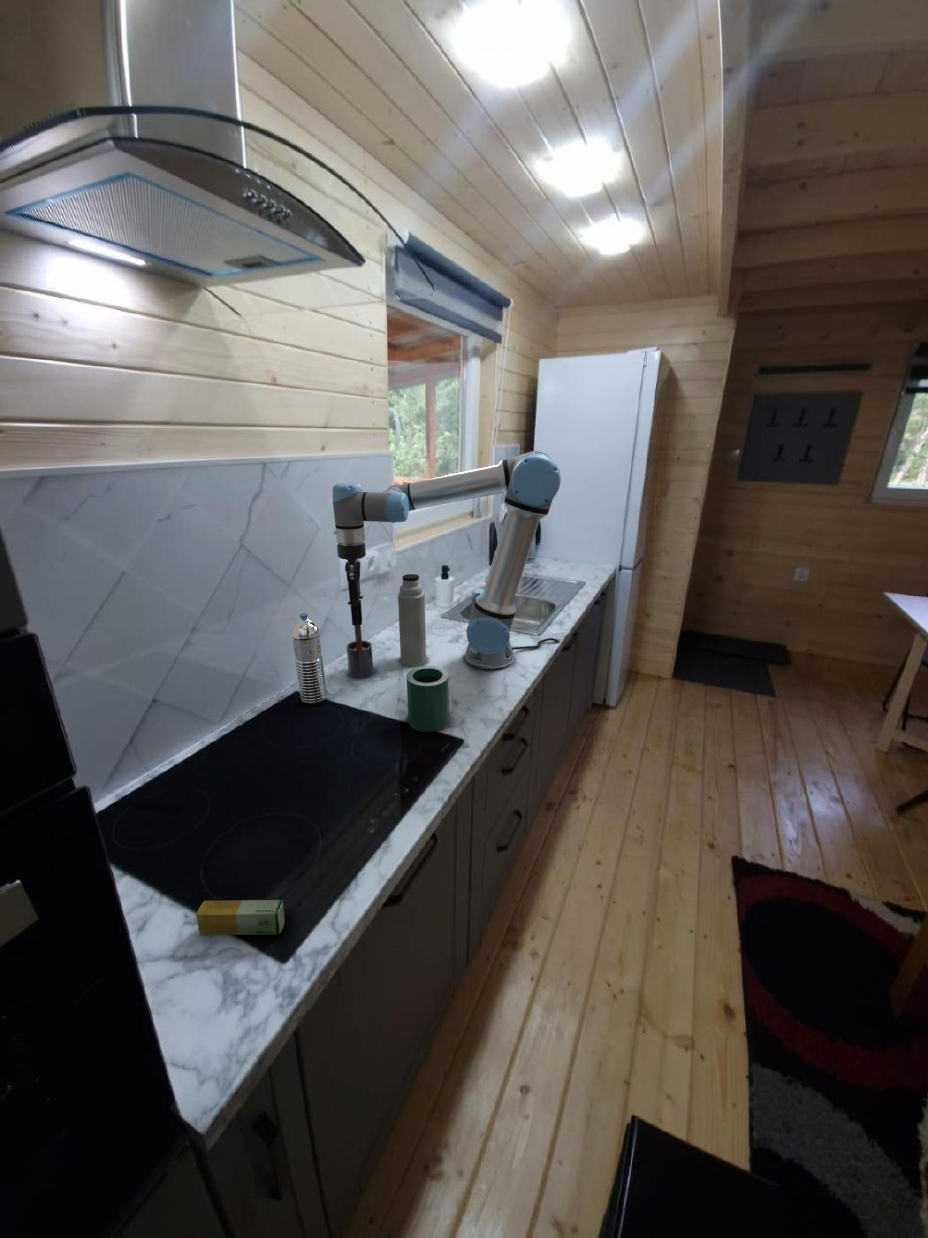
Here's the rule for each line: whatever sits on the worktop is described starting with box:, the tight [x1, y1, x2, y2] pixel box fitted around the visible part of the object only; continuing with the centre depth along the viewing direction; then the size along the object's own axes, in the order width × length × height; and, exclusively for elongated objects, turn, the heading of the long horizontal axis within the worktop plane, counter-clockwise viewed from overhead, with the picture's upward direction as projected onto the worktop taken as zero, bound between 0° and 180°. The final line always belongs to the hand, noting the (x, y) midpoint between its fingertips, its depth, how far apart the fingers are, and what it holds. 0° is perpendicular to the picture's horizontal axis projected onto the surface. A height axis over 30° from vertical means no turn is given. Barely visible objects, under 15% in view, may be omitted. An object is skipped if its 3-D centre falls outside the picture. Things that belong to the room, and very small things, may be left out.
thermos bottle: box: [397, 573, 427, 667], centre depth 151 cm, size 8×8×28 cm
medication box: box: [195, 899, 286, 936], centre depth 74 cm, size 12×3×4 cm, turn 92°
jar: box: [405, 665, 450, 733], centre depth 123 cm, size 10×10×13 cm
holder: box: [346, 640, 374, 679], centre depth 147 cm, size 7×7×9 cm
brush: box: [353, 625, 366, 650], centre depth 144 cm, size 4×4×25 cm
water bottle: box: [291, 612, 328, 707], centre depth 129 cm, size 7×7×25 cm
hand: (357, 622), depth 143 cm, fingers closed on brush, 2 cm apart
